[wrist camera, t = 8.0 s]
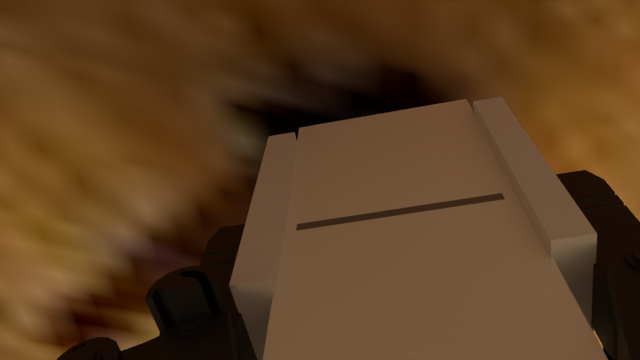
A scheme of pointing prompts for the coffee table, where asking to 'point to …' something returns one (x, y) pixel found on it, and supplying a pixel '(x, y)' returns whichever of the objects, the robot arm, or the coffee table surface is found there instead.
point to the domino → (415, 250)
